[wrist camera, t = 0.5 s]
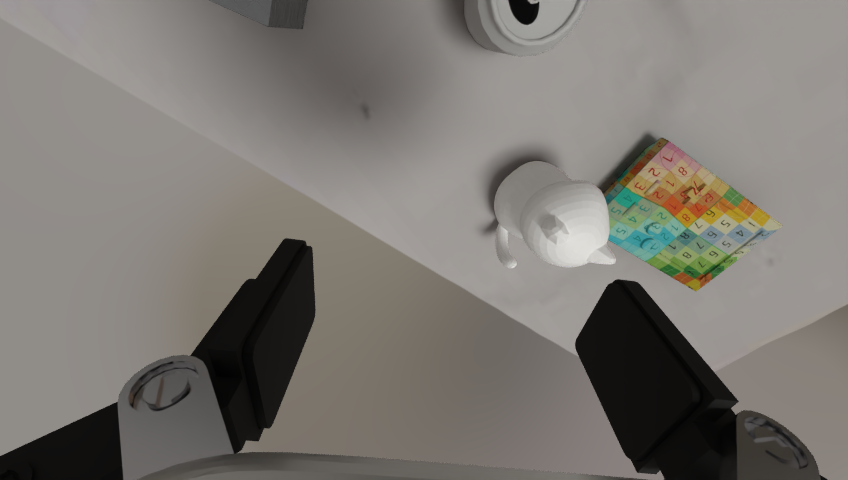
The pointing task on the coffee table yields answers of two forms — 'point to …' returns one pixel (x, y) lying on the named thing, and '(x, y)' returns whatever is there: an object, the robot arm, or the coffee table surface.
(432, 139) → the coffee table surface
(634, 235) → the puzzle game
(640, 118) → the coffee table surface
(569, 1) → the can
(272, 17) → the grey square socket block
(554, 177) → the cat figurine
